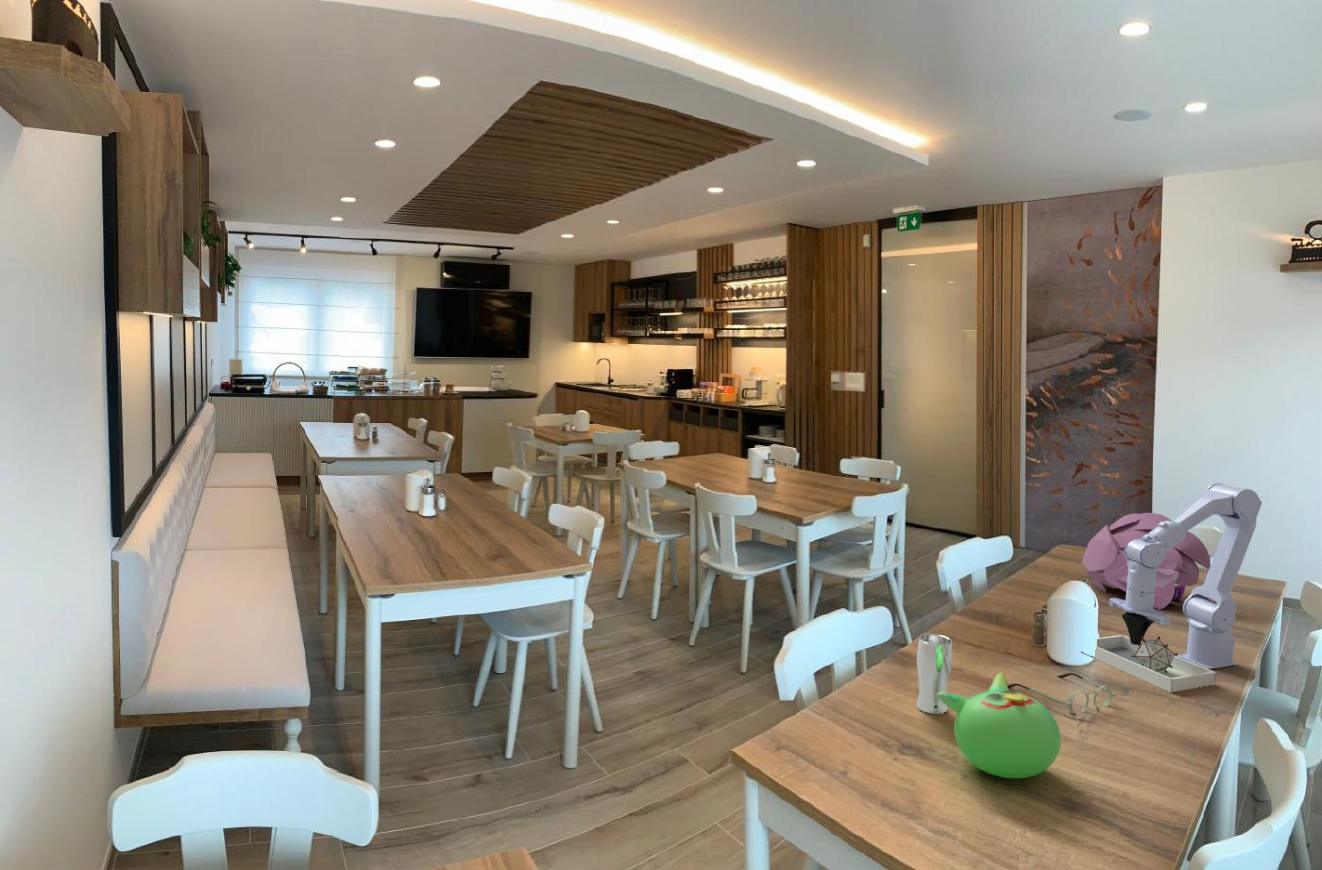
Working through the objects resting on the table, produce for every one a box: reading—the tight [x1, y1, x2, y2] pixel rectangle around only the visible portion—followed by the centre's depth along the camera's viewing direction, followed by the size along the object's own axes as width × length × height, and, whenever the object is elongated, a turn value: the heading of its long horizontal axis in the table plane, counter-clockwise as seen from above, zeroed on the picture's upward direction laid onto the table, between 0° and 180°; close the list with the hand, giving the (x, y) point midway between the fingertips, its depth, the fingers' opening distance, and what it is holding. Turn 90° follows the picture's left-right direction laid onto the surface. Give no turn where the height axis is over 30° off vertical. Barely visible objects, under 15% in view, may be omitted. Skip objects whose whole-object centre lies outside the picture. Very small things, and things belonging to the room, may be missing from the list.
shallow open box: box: [1094, 634, 1217, 693], centre depth 179 cm, size 14×24×3 cm, turn 18°
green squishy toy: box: [936, 672, 1062, 779], centre depth 133 cm, size 18×17×15 cm
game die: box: [1131, 635, 1180, 673], centre depth 176 cm, size 9×8×10 cm
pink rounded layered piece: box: [1080, 512, 1212, 610], centre depth 234 cm, size 35×24×28 cm
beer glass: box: [915, 633, 953, 715], centre depth 155 cm, size 7×7×15 cm
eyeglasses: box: [1007, 672, 1117, 714], centre depth 163 cm, size 17×15×5 cm
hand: (1135, 643), depth 181 cm, fingers closed
